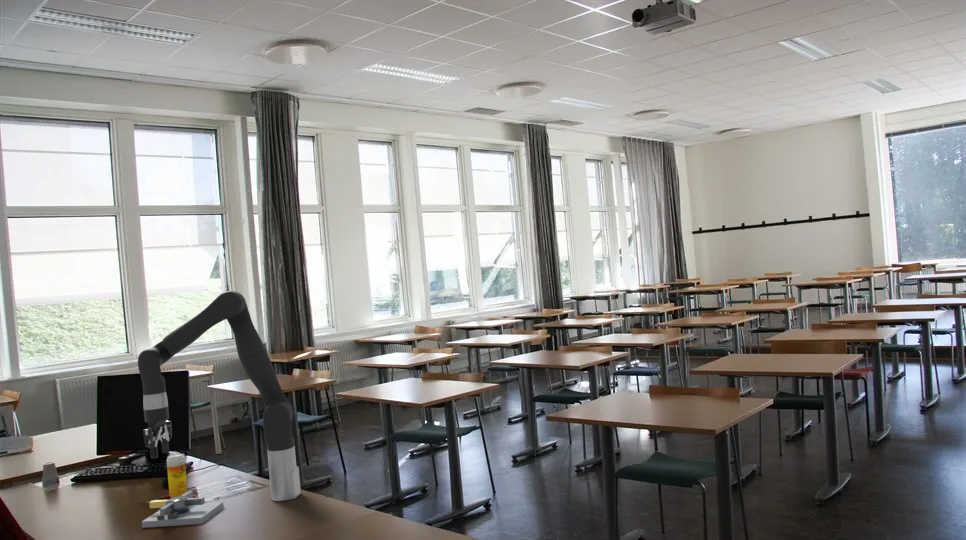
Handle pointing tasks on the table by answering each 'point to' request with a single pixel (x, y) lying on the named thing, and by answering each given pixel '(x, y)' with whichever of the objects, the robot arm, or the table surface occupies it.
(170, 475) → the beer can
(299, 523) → the table surface
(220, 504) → the stand
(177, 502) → the valve handle
